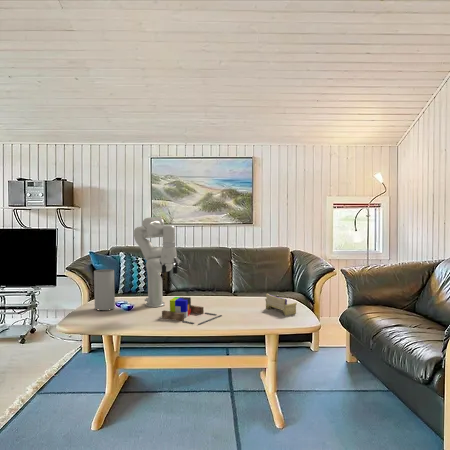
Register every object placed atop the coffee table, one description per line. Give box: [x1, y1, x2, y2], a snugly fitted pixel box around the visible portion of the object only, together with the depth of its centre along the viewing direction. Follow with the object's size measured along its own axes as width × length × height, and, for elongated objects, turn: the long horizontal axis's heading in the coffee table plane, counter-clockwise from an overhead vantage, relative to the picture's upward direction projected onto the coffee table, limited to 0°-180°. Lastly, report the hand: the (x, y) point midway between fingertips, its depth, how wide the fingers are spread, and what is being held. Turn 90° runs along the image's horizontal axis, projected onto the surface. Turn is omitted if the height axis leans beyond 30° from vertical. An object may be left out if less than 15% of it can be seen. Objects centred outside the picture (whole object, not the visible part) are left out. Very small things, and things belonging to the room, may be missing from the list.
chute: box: [161, 304, 205, 322], centre depth 242 cm, size 15×21×4 cm
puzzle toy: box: [169, 296, 192, 319], centre depth 243 cm, size 10×10×10 cm
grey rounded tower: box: [93, 268, 116, 311], centre depth 260 cm, size 12×12×25 cm
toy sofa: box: [264, 293, 297, 316], centre depth 250 cm, size 21×9×10 cm, turn 31°
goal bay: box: [181, 312, 223, 326], centre depth 234 cm, size 12×23×1 cm, turn 147°
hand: (169, 273), depth 249 cm, fingers open, 9 cm apart
